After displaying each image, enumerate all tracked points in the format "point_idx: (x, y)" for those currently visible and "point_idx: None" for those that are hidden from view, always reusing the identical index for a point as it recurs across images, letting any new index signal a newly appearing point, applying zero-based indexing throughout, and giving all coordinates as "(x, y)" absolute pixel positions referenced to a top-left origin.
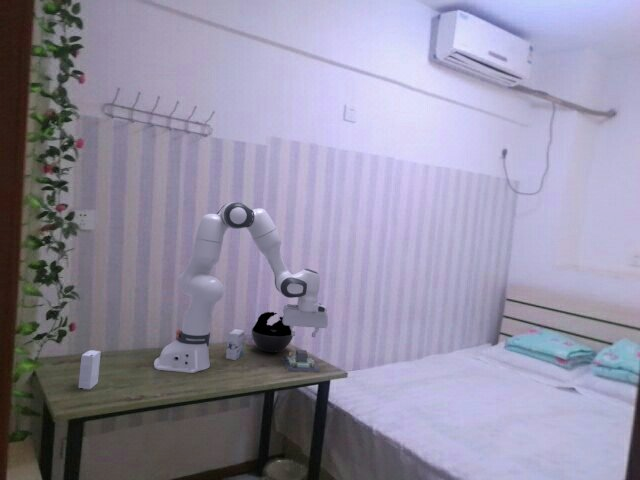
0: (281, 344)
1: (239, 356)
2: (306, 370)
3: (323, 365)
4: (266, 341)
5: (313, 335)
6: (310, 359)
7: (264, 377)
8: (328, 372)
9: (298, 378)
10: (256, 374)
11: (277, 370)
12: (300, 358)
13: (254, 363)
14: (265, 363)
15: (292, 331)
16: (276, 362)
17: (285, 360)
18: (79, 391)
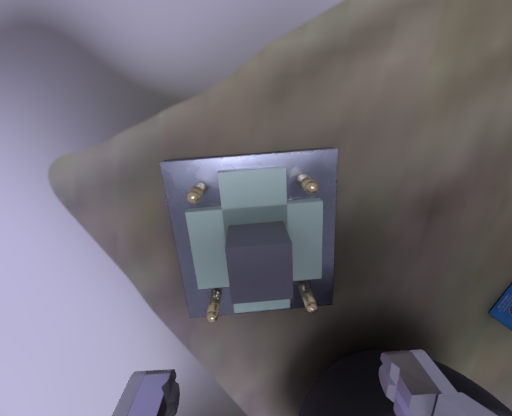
0: (358, 373)
1: (508, 291)
2: (234, 155)
3: (140, 259)
4: (454, 375)
5: (153, 387)
6: (203, 268)
7: (478, 25)
8: (115, 164)
9: (292, 36)
10: (505, 69)
11: (381, 149)
12: (267, 230)
13: (465, 226)
14: (415, 235)
15: (461, 399)
16: (361, 256)
17: (330, 255)
18: None
